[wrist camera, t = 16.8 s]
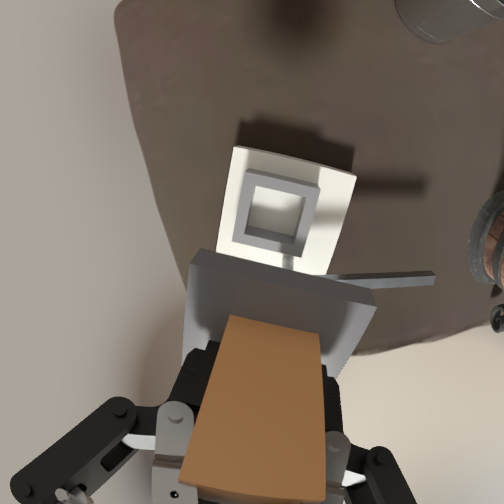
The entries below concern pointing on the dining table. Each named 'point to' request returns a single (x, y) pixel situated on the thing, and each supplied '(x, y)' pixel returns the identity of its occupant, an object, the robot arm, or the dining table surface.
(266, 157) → the socket block
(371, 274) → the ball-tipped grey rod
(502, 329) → the tankard
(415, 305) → the dining table surface
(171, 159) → the dining table surface
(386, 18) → the dining table surface
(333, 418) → the robot arm
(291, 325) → the plug
